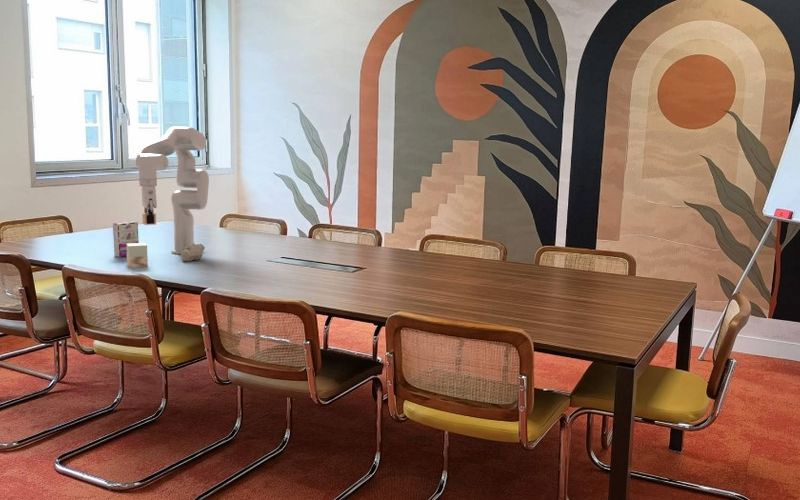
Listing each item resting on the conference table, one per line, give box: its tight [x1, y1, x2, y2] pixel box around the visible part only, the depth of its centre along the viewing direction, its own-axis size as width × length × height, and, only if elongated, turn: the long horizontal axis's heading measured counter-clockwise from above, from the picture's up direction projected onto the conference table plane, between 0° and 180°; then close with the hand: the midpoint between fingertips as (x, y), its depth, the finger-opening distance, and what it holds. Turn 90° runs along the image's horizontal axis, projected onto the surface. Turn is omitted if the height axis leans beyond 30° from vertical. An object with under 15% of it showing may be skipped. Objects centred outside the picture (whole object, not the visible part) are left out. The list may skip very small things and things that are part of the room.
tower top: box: [127, 242, 148, 257], centre depth 359 cm, size 8×8×5 cm
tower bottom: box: [126, 255, 149, 268], centre depth 360 cm, size 8×8×5 cm
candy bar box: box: [112, 220, 140, 258], centre depth 383 cm, size 11×5×16 cm, turn 143°
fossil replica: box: [180, 243, 206, 262], centre depth 376 cm, size 12×8×10 cm
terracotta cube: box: [141, 212, 157, 226], centre depth 356 cm, size 5×5×5 cm
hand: (149, 222), depth 356 cm, fingers closed on terracotta cube, 4 cm apart
